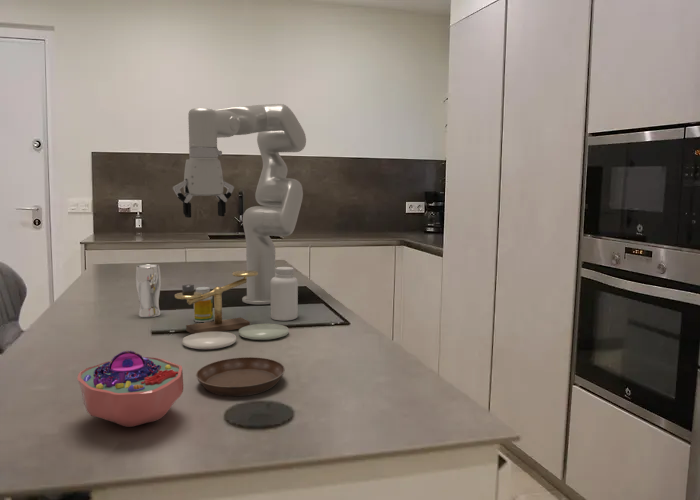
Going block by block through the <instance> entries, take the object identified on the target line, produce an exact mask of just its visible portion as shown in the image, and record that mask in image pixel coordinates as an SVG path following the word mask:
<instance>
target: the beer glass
mask: <svg viewBox="0 0 700 500" xmlns="http://www.w3.org/2000/svg"><path fill="white" fill-rule="evenodd" d="M135 268H136V269H135V270H136V271H135V286H136V290H137V296H138V301H139V311H138V317H140V318H143V319H144V318H145V319H146V318H147V319H149V318H156V317H159V316H160V315H161V311H160V305H159V300H160V293H161V283H162V282H161V281H162V280H161V279H162V277H161V269H160V265H159V264H151V263H149V264H139V265H136V266H135Z"/></svg>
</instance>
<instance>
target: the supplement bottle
mask: <svg viewBox="0 0 700 500" xmlns="http://www.w3.org/2000/svg"><path fill="white" fill-rule="evenodd" d="M210 291H211V288H210V286H199V287H195V292H199V293H202V294H205V293H207V292H210ZM213 303H214V296H211V297H209V298H206V299H204V300H201V301H199V302H196V303H194V304H193V321H194V322H195V323H199V322H212V321H213V320H214V309H213V308H214V304H213Z"/></svg>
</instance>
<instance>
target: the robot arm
mask: <svg viewBox="0 0 700 500" xmlns="http://www.w3.org/2000/svg"><path fill="white" fill-rule="evenodd" d="M187 119H188V120H187V121H188V148H189V149H188V151H189V154H188V155H189V159H185V165H184V174H183V181H181V182H179V183H177V184H176V185H173V186H172V190H173V191H174V193H175V195H176V197H177V199H179V201H180V202H181V203H182V211H183V212H182V213H183V215H184V217H185V218H192V203H191V202H190V201H191V200H192V199H193V197H195V196H196V197H197V196H198V197H199V196H200V197H202V196H203V197H207V196H210V197H211V196H215V197H216V198H217V199H218V202H217V216H218V217H225V216H226V215H225V214H226V212H227V211H226V209H227V208H226V203H227V202H228V200H229V198H230V197H231V196H232V193H233V192H234V189H235V186H234V185H232V184H230V183H229V182H226V181H225V180H224V178H223V177H224V176H223V169H222V165H221V160H220V159H218V158H219V156H222V155H223V151H222V150H219V148H218V138H231V137H234V136H244V135H245V136H246V135H252V134H256V133H257V137H256V142H257V146H258V147H257V148H258V149H259V150H258V151H259V152H260V157H261V159H262V169H261V173H260V176H259V179H258V183H257V185H256V191H255V193H254V196H255V197H254V198H255V201H256V203H257V204H259V205H256V206H255V205H254V206H251V207H249V208H246V210H245V211H244V212H243V214H242V226H243V231H244V237H245V245H246V247H245V250H246V254H245V255H246V256H245V257H246V262H245V263H246V271H257V272H258V275H256V276H250V277H247V280H246V281H247V282H246V295H245V296H243V297H242V298H241V299H242V303H244V304H248V305H260V306H261V305H271V279H272V278H273V277H276V275H275V274H276V273H275V268H276V247H275V244H274V242H273V240H272V238H271V237H273V236H274V237H288V236H290V235H291V234H293V232H294V230H295V228H296V225H297V221H298V218H299V214H300V210H301V206H302V203H303V197H304V191H303V190H304V189H303V185H302V183H301V182H300V181H299V180H298V179H295V178H291V177H290V178H289V177H287V175H288V171H289V170H288V166H287V163H286V162H285V161H284V159H283V158H282V157H281V155H280V153H300V152H301V151H303V150H304V149H305V147H306V144H307V138H306V136H307V135H306V133H305V130H304V128H303V126H302V125H301V123H300V121H299V120H298V118H297V116H296V115H295V114H294V112H293V110H292V109H291V108H290V107H289V106H287V105H286V104H284V103H283V104H282V103H277V104H276V103H274V104H253V105H245V106H244V105H243V106H234V107H229V108H221V109H212V108H207V107H196V108H191V109H189V111H188V118H187ZM182 188H183V192H184V194H183V193H182V191H181V189H182ZM224 188H226V192H224ZM270 236H271V237H270Z"/></svg>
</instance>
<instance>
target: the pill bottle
mask: <svg viewBox="0 0 700 500" xmlns="http://www.w3.org/2000/svg"><path fill="white" fill-rule="evenodd" d="M275 273H276V274H275V275H276V277H273V278H272V279H271V304H270V318H271V319H272V320H274V321H284V322H285V321H293V320H295V319H298V314H299V312H298V311H299V310H298V309H299V307H298V305H299V303H298V301H299V299H298V298H299V297H298V295H299V293H298V291H299V286H298V279H297V277H295V276H293V275H294V267H292V266H291V267H290V266H277V267H275Z"/></svg>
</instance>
